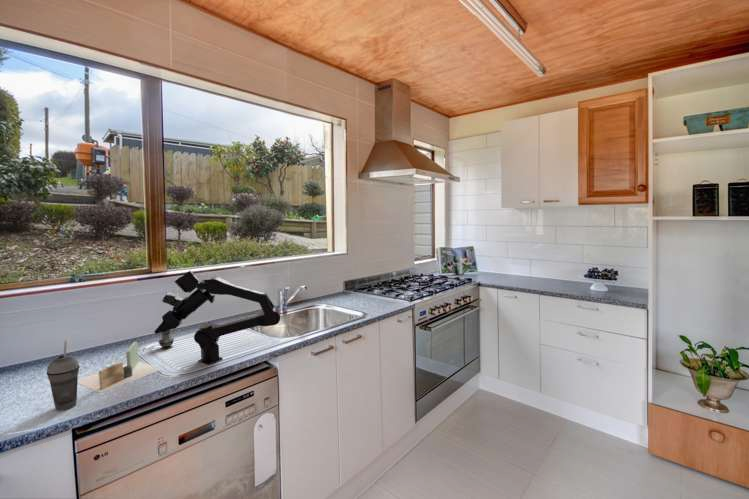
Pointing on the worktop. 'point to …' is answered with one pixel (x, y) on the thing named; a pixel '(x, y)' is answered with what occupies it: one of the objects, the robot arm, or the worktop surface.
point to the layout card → (137, 372)
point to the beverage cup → (63, 380)
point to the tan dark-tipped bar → (113, 374)
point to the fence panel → (132, 355)
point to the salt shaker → (166, 340)
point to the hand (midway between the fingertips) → (159, 328)
